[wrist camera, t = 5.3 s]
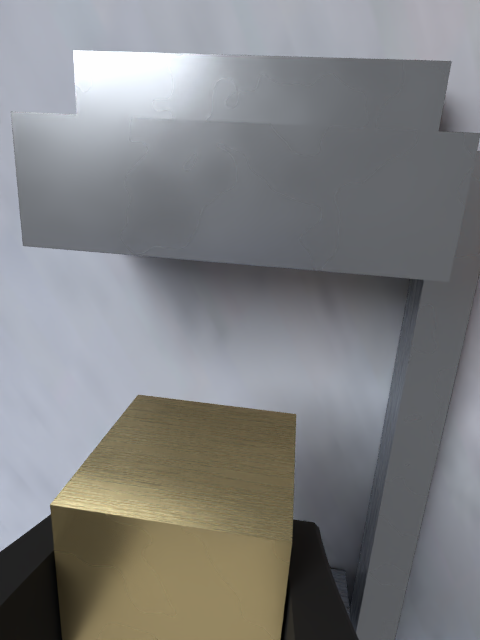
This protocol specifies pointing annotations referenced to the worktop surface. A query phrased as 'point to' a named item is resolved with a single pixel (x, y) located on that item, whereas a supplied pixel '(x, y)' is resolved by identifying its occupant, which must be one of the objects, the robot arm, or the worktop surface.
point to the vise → (284, 218)
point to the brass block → (178, 526)
